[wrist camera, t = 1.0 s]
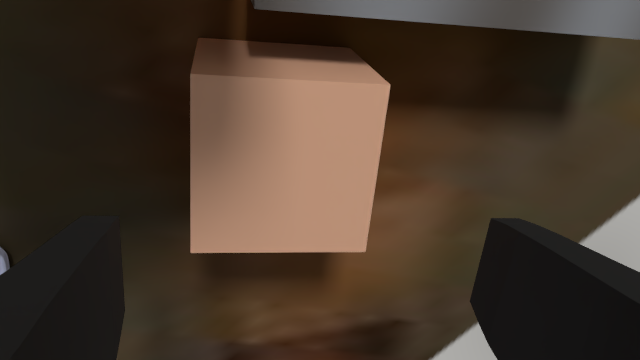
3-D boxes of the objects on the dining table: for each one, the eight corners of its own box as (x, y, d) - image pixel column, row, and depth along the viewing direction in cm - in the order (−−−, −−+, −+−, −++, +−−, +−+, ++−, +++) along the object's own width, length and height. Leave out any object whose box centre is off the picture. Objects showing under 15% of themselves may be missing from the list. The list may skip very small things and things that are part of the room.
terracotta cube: (197, 178, 19) (190, 253, 15) (198, 37, 17) (190, 74, 13) (333, 181, 20) (365, 252, 16) (349, 47, 18) (390, 84, 14)
